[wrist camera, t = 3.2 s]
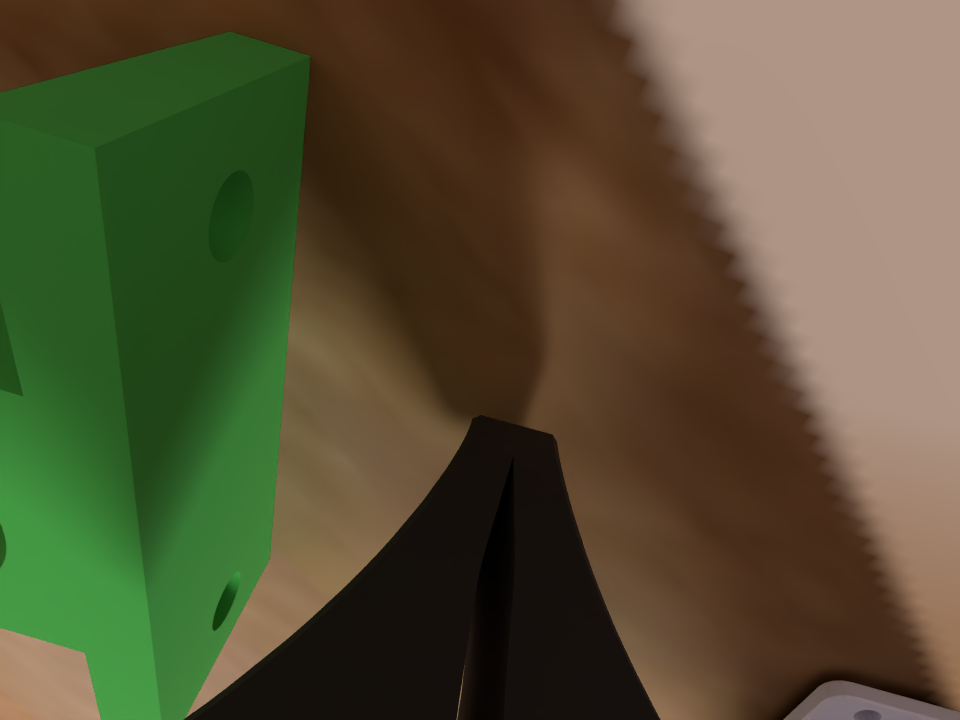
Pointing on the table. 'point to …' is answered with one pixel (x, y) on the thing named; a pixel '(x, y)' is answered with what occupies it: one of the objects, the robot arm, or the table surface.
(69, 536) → the pipe clamp
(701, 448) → the table surface
